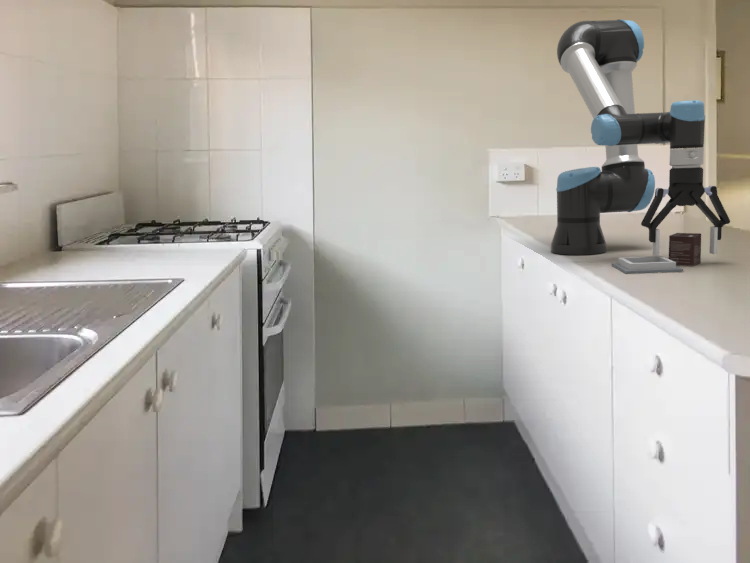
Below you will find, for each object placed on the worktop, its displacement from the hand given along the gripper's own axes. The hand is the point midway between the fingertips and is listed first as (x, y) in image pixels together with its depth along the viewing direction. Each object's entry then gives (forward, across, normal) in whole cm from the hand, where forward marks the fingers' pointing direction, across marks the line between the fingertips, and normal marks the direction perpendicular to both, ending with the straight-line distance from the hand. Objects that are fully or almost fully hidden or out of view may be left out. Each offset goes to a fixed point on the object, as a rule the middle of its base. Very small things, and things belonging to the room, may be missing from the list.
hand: (684, 255), depth 186 cm
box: (+2, 0, 0) cm, 3 cm away
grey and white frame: (+2, -11, -5) cm, 12 cm away
